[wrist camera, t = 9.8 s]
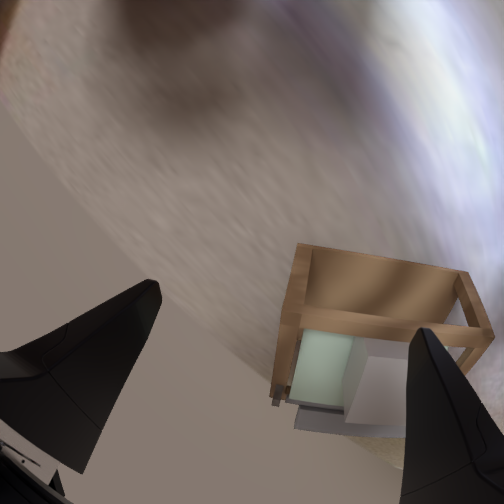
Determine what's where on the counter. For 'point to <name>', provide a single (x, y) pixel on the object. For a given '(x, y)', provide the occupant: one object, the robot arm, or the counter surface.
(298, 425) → the trapdoor
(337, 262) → the frame
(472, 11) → the counter surface
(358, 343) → the stone
